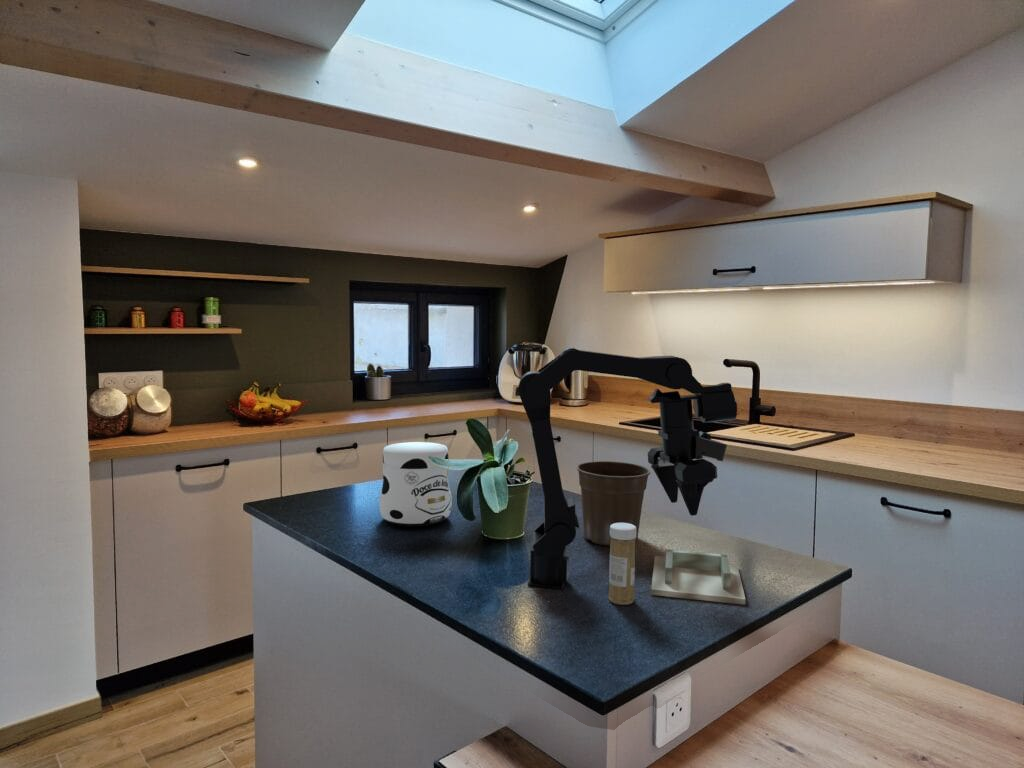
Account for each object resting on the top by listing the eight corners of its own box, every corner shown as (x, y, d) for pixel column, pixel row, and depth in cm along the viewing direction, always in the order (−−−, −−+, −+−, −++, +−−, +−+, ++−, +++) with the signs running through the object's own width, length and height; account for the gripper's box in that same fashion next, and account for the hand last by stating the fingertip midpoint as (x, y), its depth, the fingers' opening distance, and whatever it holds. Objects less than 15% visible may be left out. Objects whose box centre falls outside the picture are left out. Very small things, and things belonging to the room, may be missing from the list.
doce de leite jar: (441, 534, 154) (441, 456, 152) (368, 529, 157) (368, 452, 155) (459, 513, 171) (459, 442, 169) (393, 509, 174) (393, 439, 172)
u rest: (651, 594, 121) (651, 573, 121) (654, 560, 139) (655, 541, 138) (745, 604, 118) (746, 582, 117) (736, 568, 135) (737, 548, 135)
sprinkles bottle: (639, 602, 118) (642, 526, 117) (620, 608, 116) (622, 531, 114) (621, 593, 122) (623, 520, 121) (602, 598, 119) (604, 524, 118)
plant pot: (641, 528, 161) (644, 461, 159) (654, 551, 144) (656, 476, 143) (573, 526, 161) (574, 459, 160) (577, 549, 145) (579, 475, 143)
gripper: (743, 426, 115) (749, 516, 117) (698, 413, 134) (703, 491, 135) (680, 434, 114) (687, 525, 115) (643, 420, 132) (650, 498, 134)
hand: (683, 508), depth 125 cm, fingers open, 9 cm apart
